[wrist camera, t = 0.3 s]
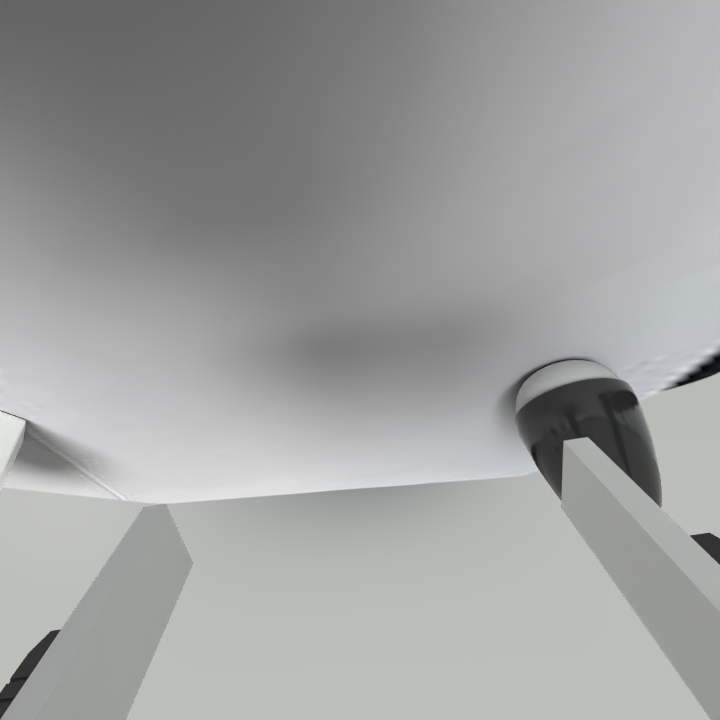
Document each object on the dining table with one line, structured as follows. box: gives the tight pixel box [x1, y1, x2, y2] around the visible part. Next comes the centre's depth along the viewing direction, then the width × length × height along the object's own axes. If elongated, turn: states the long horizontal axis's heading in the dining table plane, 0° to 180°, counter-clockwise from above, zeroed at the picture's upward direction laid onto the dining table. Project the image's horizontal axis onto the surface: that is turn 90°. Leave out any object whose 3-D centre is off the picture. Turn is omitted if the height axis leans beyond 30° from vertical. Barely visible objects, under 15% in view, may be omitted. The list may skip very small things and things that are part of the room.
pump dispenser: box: [515, 360, 662, 508], centre depth 34 cm, size 10×10×15 cm
